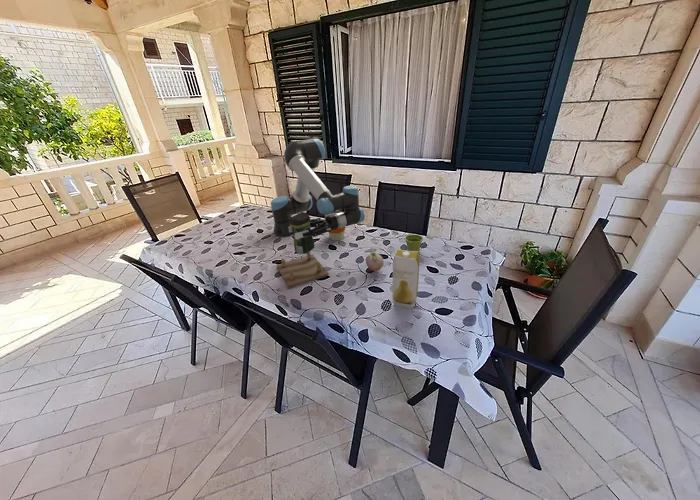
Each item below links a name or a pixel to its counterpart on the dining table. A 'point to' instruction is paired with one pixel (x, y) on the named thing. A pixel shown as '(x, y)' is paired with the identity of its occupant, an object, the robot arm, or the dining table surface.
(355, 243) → the dining table surface
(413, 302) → the juice carton
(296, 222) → the coffee jar
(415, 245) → the plant pot
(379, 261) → the decorative fruit
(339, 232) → the reusable coffee cup
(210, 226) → the dining table surface
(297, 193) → the robot arm
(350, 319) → the dining table surface
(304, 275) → the standoff base
